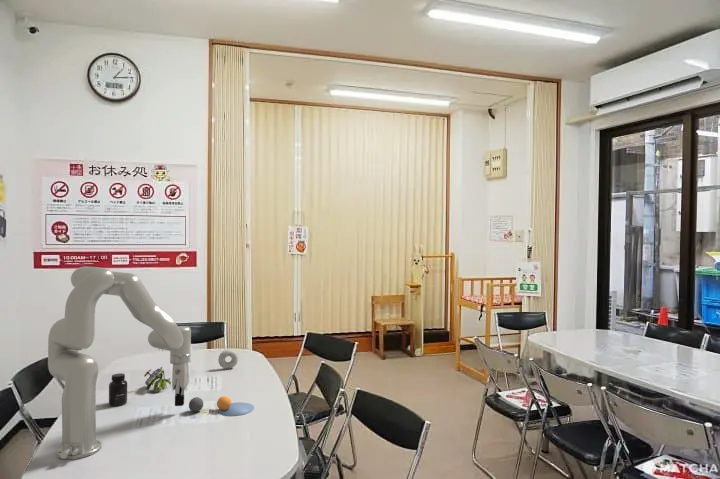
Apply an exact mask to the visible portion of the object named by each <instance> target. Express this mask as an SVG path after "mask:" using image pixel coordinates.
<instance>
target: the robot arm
mask: <svg viewBox="0 0 720 479" xmlns="http://www.w3.org/2000/svg"><path fill="white" fill-rule="evenodd" d="M70 282H71V284H72V287H73V289H72V290H71V291H70V293H69V295H68V296H67V299H66V302H65V308H64V318H61V319H59V320H57V321H56V322H54V323H53V324H52V326H51V328H50V330H49V333H48V338H47V344H48V345H47V368H48V371H49V372H48V373H50V375H51V376H52V377H53V378H54V379H55V378H56V379H57V380H60V381H63V382H64V387H63V391H62V394H61V395H62V396H61V429H62V430H61V435H62V438H61V440H62V443H61V446H59V448H58V449H56V456H57V458H58V459H60V460H61V459H62V460H76V459H83V458H86V457H89V456H91V455H93V454H96V453H97V452H98V451H99V450H100V449H101V448H102V441H101V440H98V439H97V418H96V417H97V413H96V412H97V410H96V409H97V408H96V407H97V406H96V404H97V403H96V397H97V396H96V395H97V393H96V389H97V388H96V387H97V381H98V377H99V376H98V375H99V365H98V362H97V360H96V359H95V358H93V357H92V356H90V355H89V354H87V353H83V352H80V351H85V350H87V349H88V348H90V347H91V346H92V345H93V343H94V340H95V328H96V327H95V326H96V325H95V322H96V320H95V318H96V317H95V314H96V306H97V303H98V302H99V300H100V298H101V297H102V296H103V295H109V296H117V297H120V300H122V302H123V303H124V305H125V306H126V307H127V309H128V310H129V312H130V313H131V315H132V316H133V318H134V319H136V320H137V321H139V323H142V324H143V325H146V326H148V327H149V328H150V329H152V330H151V331H150V333H149V334H148V336H147V341H148V343H149V345H150V346H151V347H152V348H154V349H158V350H164V351H168V352H169V364H171V365H172V374H171V375H172V379H171V380H172V381H171V385H172V386H171V388H172V390H173V391H174V406H175V407H183V406H184V405H185V390H186V389H187V387H188V386H189V382H190V380H189V379H190V378H189V377H190V376H189V375H190V374H189V373H190V372H189V370H190V369H189V363H191V355H192V353H191V347H192V346H191V344H192V339H191V338H192V329H191V327H190V326H185V325H180V326H179V325H178V324H177V323H176V322H175V321H174V319H173V318H172V317H171V316H170V315H169V314H168V313H167V312H166V311H165V310H163V309H162V308H161V307H160V306H158V304H157V302H155V301H154V299H153V297H152V296H151V294H150V293H149V291H148V290H147V288H146V287H145V284H144V283H143V281H142V280H141V279H140V278H139V277H138V276H137V275H136V274H135V273H131V272H121V271H111V270H110V269H108V268H106V267H99V266H98V267H97V266H87V265H86V266H80V267H78V268H76V269H75V270H74V271H73V272H72V273H71V275H70Z"/></svg>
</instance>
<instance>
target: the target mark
mask: <svg viewBox="0 0 720 479" xmlns="http://www.w3.org/2000/svg"><path fill="white" fill-rule="evenodd" d="M217 409H218V410H217V412H218V413H219V414H220V415H222V416H226V417H238V416H243V415H247V414H249V413H251V412H253V411H254V409H255V405H254V404H251V403H249V402H241V401H240V402H231V406H230V407H229V409H227V410H224V411H223V410H220V409H219V408H217Z"/></svg>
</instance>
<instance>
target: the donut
mask: <svg viewBox="0 0 720 479" xmlns="http://www.w3.org/2000/svg"><path fill="white" fill-rule="evenodd" d="M227 357H230V358H231V360H230V361H226V358H227ZM238 361H239V356H238V353H237V352H236V351H235V350H233V349H228V348H227V349H225V350H223V351H221V353H220V354H219V356H218V364H219V366H220V367H221V368H223V369H226V370H230V369H232V368H234V367H235V366H236V365H237V364H238Z"/></svg>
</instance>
